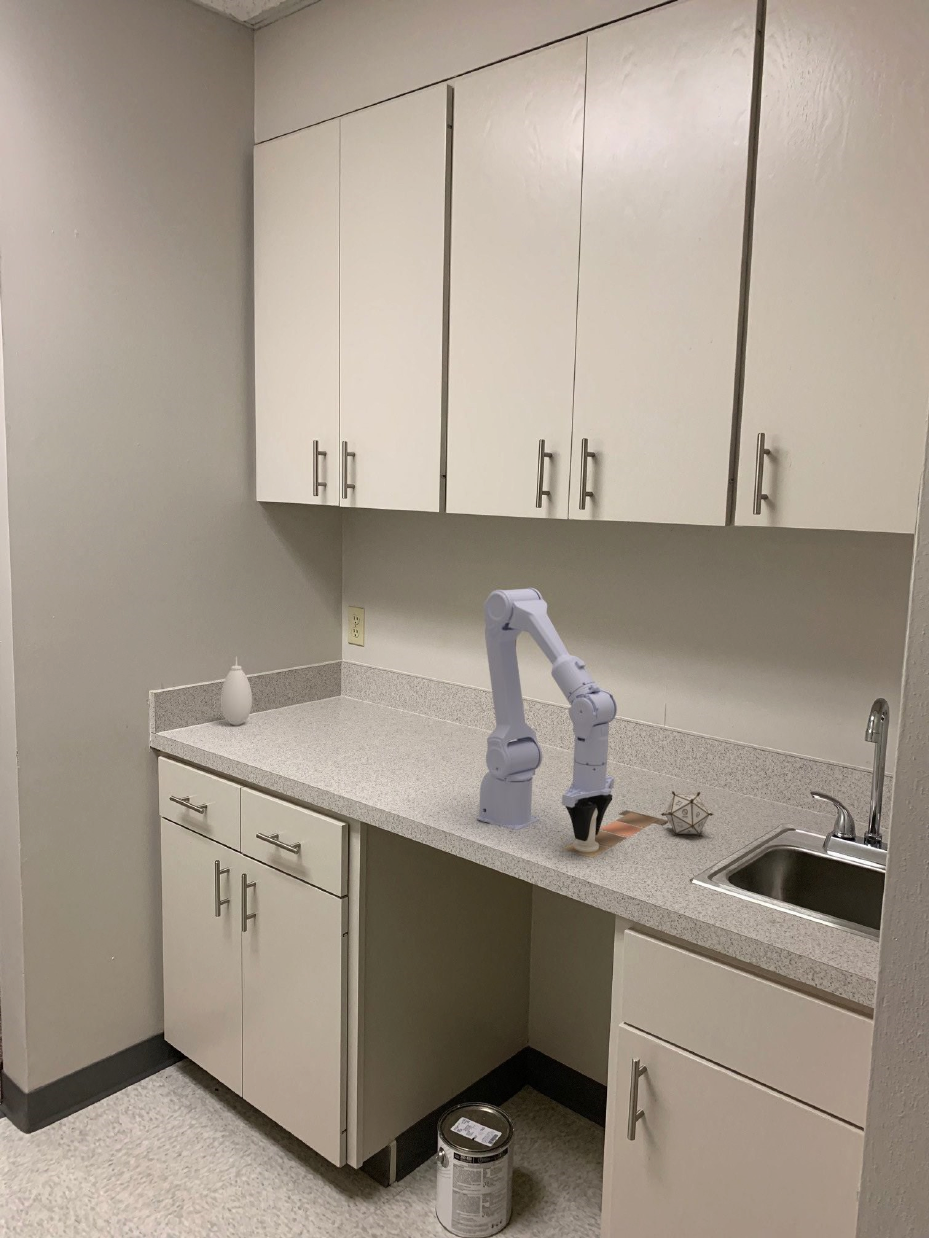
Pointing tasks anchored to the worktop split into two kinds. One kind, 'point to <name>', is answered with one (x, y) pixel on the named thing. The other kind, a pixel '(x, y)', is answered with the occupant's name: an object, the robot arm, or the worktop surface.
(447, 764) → the worktop surface
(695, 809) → the game die
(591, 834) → the pawn
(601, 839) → the board
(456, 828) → the worktop surface
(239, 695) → the air blower bulb
